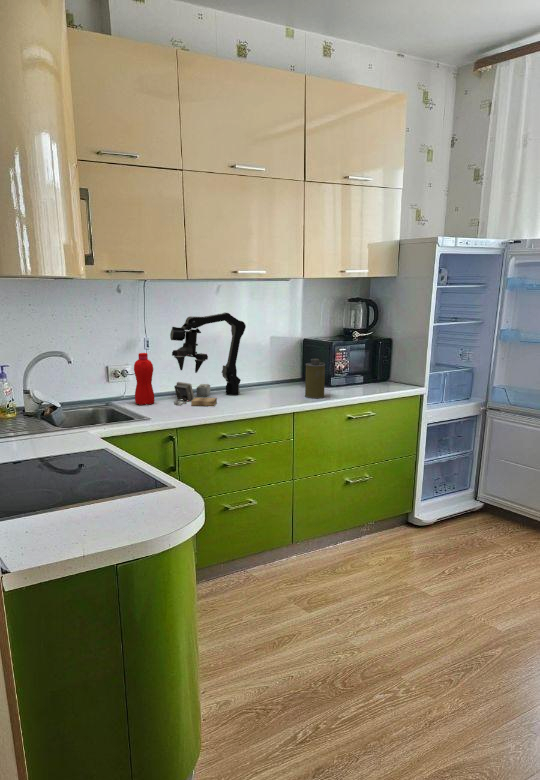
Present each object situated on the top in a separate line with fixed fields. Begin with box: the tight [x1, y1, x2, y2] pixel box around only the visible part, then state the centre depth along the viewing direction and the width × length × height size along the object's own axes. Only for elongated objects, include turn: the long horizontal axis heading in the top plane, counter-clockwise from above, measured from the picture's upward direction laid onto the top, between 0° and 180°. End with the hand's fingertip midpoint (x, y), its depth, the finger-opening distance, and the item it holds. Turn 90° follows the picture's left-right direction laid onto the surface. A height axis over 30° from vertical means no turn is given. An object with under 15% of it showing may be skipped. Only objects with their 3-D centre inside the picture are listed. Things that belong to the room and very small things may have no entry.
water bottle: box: [133, 352, 155, 406], centre depth 271 cm, size 9×11×25 cm
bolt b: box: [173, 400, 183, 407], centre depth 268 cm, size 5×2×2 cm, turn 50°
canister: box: [304, 358, 326, 399], centre depth 289 cm, size 11×10×20 cm
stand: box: [190, 397, 218, 407], centre depth 270 cm, size 11×8×2 cm
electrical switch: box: [173, 381, 195, 402], centre depth 279 cm, size 9×5×9 cm, turn 57°
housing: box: [196, 383, 211, 398], centre depth 292 cm, size 6×9×6 cm, turn 175°
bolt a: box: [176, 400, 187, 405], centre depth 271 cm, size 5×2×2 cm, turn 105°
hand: (188, 371), depth 284 cm, fingers open, 9 cm apart
